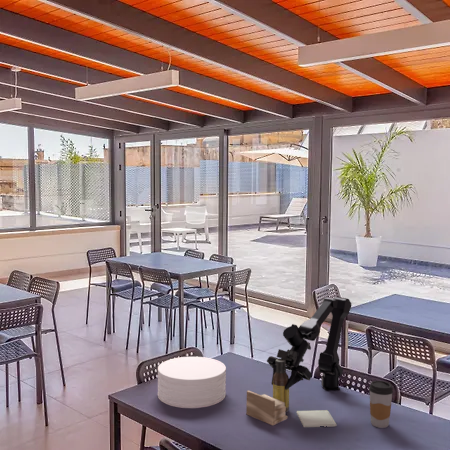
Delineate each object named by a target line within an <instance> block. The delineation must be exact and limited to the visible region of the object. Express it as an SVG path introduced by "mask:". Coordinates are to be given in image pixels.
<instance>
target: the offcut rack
mask: <svg viewBox="0 0 450 450" xmlns="http://www.w3.org/2000/svg"><path fill="white" fill-rule="evenodd" d="M245 404H246V409H245V410H246V411H245V412H246V415H247V416H249V417H252V418H253V419H256V420H259V421H261V422H263V423H266V424H268V425H271V426H275V425H277V424H279V423H281V422H283V421H285V420H287V419H288V415H286V412H285V411H286V406H285V403H284V402H282V401H279V400H277V399H275V398H273V396H269V395H268V394H265V393H263V394H259V393H256V392H253V391H251V390H246V403H245Z"/></svg>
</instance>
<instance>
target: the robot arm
mask: <svg viewBox="0 0 450 450" xmlns="http://www.w3.org/2000/svg"><path fill="white" fill-rule="evenodd" d="M351 309H352V302H351V300H350V299H349V298H346V297H341V296H334V297H324V299H323V301H322V303H321V304H320V306H319V307H318V308H317V309H316V311H315V312H314V313H313V315H312V316H311V318H310V319H306V320H305V321H304V322H302V323H301V324H300V325H299V326H298V325H297V324H294V323H292V324H291V326H287V327H286V328H284V330H283V332H282V336H283V338H284V339H285V340H286V342H287V343H288V344H289V345H290V346H291V347H290V349H287V350H284V349H280V348H279V349H278V350H277V354H276V356H273V355H270V356H269V357H268V358H267V359H266V362H267V363H268V365H270V367H271V368H272V378H271V382H270V383H271V386H273V376H274V374H275V373H276V359H285V360H286V371H287V370H288V371H290V372H291V373H290V376H289V380H288V382H287V384H286V386H285V390H287V389H288V388H289V389H291V387H292V386H294V385H295V384H298V383H299V382H301V381H304V380H306V381H310V380H311V379H312V375H313V374H312V372H311V371H310V369H309V368H308V366H304V365H301V363H303V362H304V361H305V359H304V356H305V354H306V353H307V351H308V350H309V351H310V350H311V349H312V347H311V342H315V341H316V339H317V338H318V336H319V334H320V333H321V327H322V325H323V323H324V322H325V321H326V319H327V318H328V317H329V315H330V314H331V316H332V317H331V323H330V326H329V327H330V328H329V332H328V336H327V341H326V347H325V350H324V351H322V352H319V357H318V362H317V365H318V370H319V372H320V373H322V375H321V379H320V380H321V387H322V388H323V390H325V391H340V386H339V385H340V382H339V381H340V377H341V376H342V375H343V373H344V368H342V367H341V365H340V357H339V354H338V350H339V345H340V339H341V334H342V330H343V326H344V321H345V319H346V317H347V316H348V315H349V314H350V311H351ZM309 341H311V342H309Z"/></svg>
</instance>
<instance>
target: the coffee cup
mask: <svg viewBox="0 0 450 450" xmlns="http://www.w3.org/2000/svg"><path fill="white" fill-rule="evenodd" d="M393 390H394V389H393V387H392V384H391V383H390V382H388V381H384V380H373V381H371V382H370V384H369V387H368V391H369V414H370V423H371V425H372V427H375V428H379V429H385V428H387V427H389V425H390V419H391V410H392V400H393V399H392V398H393V393H394V391H393Z"/></svg>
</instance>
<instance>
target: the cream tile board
mask: <svg viewBox="0 0 450 450" xmlns="http://www.w3.org/2000/svg"><path fill="white" fill-rule="evenodd" d="M296 415H297V417H298V419H299V420H300V422H301V425H302V426H303V427H302V428H321V427H320V426H324V428H325V427H326V426H327V427H328V428H329V427H337V423H336V422H335V420H334V418H333V416H332V415H331V413H330V412H329V411H328V410H327V409H325V410H322V409H321V410H319V409H318V410H317V409H316V410H296ZM327 427H326V428H327Z"/></svg>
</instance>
